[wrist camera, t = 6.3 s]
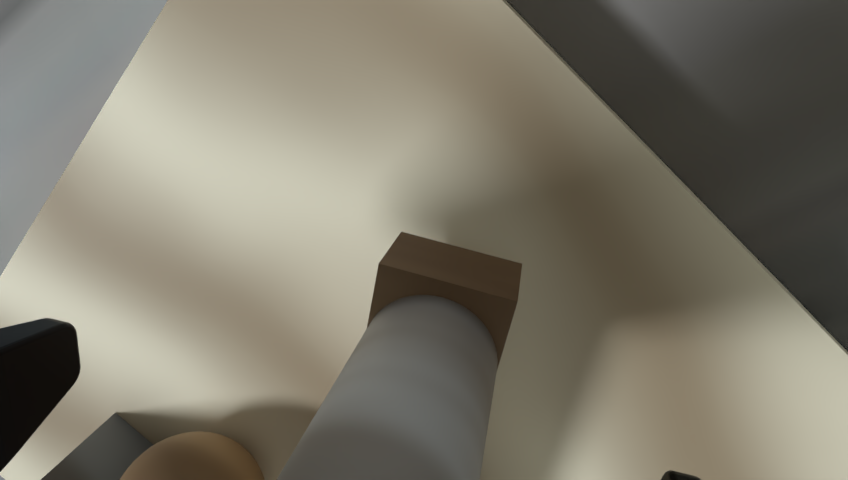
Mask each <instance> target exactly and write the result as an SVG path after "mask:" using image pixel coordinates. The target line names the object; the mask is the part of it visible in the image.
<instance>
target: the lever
mask: <svg viewBox="0 0 848 480" xmlns="http://www.w3.org/2000/svg"><path fill="white" fill-rule="evenodd" d="M521 270H522V263H518V262H514V261H510V260H507V259H503V258H499V257H495V256H491V255H488V254H484V253H480V252H476V251H473V250H469V249H465V248H461V247H458V246H454V245H450V244H446V243H443V242H439V241H435V240H431V239H428V238H424V237H420V236H416V235H413V234H409V233H405V232H401V233H400V234H399V236H398V237H397V238H396V240H395V241H394V243H393V244H392V245H391V247H390V248H389V250H388V251H387V252H386V254H385V255H384V257H383V258H382V259H381V261H380V262H379V264H378V270H377V275H376V281H375V286H374V292H373V297H372V303H371V308H370V313H369V319H368V324H367V329H366V331H365V333H364V334H363V336H362V338H361V339H360V341H359V343H358V344H357V346H356V348H355V349H354V351H353V353H352V354H351V356H350V358H349V359H348V361H347V363H346V364H345V366H344V368H343V369H342V371H341V373H340V374H339V376H338V378H337V379H336V381H335V383H334V384H333V386H332V388H331V389H330V391H329V393H328V394H327V396H326V398H325V399H324V401H323V403H322V404H321V406H320V408H319V409H318V411H317V413H316V414H315V416H314V418H313V419H312V421H311V423H310V424H309V426H308V428H307V429H306V431H305V433H304V435H303V436H302V438H301V440H300V441H299V443H298V445H297V446H296V448H295V450H294V451H293V453H292V455H291V456H290V458H289V460H288V461H287V463H286V465H285V466H284V468H283V470H282V471H281V473H280V475H279V476H278V478H277V480H480V475H481V468H482V462H483V455H484V449H485V443H486V436H487V430H488V424H489V417H490V411H491V404H492V398H493V392H494V385H495V379H496V373H497V369H498V366H499V362H500V359H501V356H502V352H503V349H504V346H505V342H506V339H507V336H508V332H509V329H510V326H511V322H512V319H513V316H514V312H515V309H516V305H517V302H518V295H519V287H520V278H521Z"/></svg>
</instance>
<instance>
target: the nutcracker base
mask: <svg viewBox="0 0 848 480" xmlns="http://www.w3.org/2000/svg"><path fill="white" fill-rule="evenodd" d="M401 232H405V233H409V234H413V235H416V236H420V237H424V238H428V239H431V240H435V241H439V242H443V243H446V244H450V245H454V246H458V247H461V248H465V249H469V250H473V251H476V252H480V253H484V254H488V255H491V256H495V257H499V258H503V259H507V260H510V261H514V262H518V263H522V270H521V278H520V287H519V295H518V302H517V305H516V309H515V312H514V316H513V319H512V322H511V326H510V329H509V332H508V336H507V339H506V342H505V346H504V349H503V352H502V356H501V359H500V362H499V366H498V369H497V373H496V379H495V385H494V392H493V398H492V404H491V411H490V417H489V424H488V430H487V436H486V443H485V449H484V455H483V462H482V468H481V475H480V480H661V478H662V476H663V475H664V473H665V472H667V471H669V470H673V471H677V472H681V473H685V474H690V475H694V476H696V477H698V478H700V479H701V480H848V351H847V350H846V349H845V348H844V347H843V346H842V345H841V344H840V343H839V342H838V341H837V340H836V339H835V338H834V337H833V336H832V335H831V334H830V333H829V332H828V331H827V330H826V329H825V328H824V327H823V326H822V325H821V324H820V323H819V322H818V321H817V320H816V319H815V318H814V317H813V316H812V314H811V313H810V312H809V311H808V310H807V309H806V308H805V307H804V306H803V305H802V304H801V303H800V302H799V301H798V300H797V299H796V298H795V297H794V296H793V295H792V294H791V293H790V292H789V291H788V290H787V289H786V288H785V287H784V286H783V285H782V284H781V283H780V282H779V281H778V280H777V279H776V278H775V276H774V275H773V274H772V273H771V272H770V271H769V270H768V269H767V268H766V267H765V266H764V265H763V264H762V263H761V262H760V261H759V260H758V259H757V258H756V257H755V256H754V255H753V254H752V253H751V252H750V251H749V250H748V249H747V248H746V247H745V246H744V245H743V244H742V243H741V242H740V241H739V240H738V238H737V237H736V236H735V235H734V234H733V233H732V232H731V231H730V230H729V229H728V228H727V227H726V226H725V225H724V224H723V223H722V222H721V221H720V220H719V219H718V218H717V217H716V216H715V215H714V214H713V213H712V212H711V211H710V210H709V209H708V208H707V207H706V206H705V205H704V204H703V203H702V201H701V200H700V199H699V198H698V197H697V196H696V195H695V194H694V193H693V192H692V191H691V190H690V189H689V188H688V187H687V186H686V185H685V184H684V183H683V182H682V181H681V180H680V179H679V178H678V177H677V176H676V175H675V174H674V173H673V172H672V171H671V170H670V169H669V168H668V167H667V166H666V165H665V163H664V162H663V161H662V160H661V159H660V158H659V157H658V156H657V155H656V154H655V153H654V152H653V151H652V150H651V149H650V148H649V147H648V146H647V145H646V144H645V143H644V142H643V141H642V140H641V139H640V138H639V137H638V136H637V135H636V134H635V133H634V132H633V131H632V130H631V129H630V128H629V126H628V125H627V124H626V123H625V122H624V121H623V120H622V119H621V118H620V117H619V116H618V115H617V114H616V113H615V112H614V111H613V110H612V109H611V108H610V107H609V106H608V105H607V104H606V103H605V102H604V101H603V100H602V99H601V98H600V97H599V96H598V95H597V94H596V93H595V92H594V91H593V90H592V88H591V87H590V86H589V85H588V84H587V83H586V82H585V81H584V80H583V79H582V78H581V77H580V76H579V75H578V74H577V73H576V72H575V71H574V70H573V69H572V68H571V67H570V66H569V65H568V64H567V63H566V62H565V61H564V60H563V59H562V58H561V57H560V56H559V55H558V54H557V53H556V52H555V50H554V49H553V48H552V47H551V46H550V45H549V44H548V43H547V42H546V41H545V40H544V39H543V38H542V37H541V36H540V35H539V34H538V33H537V32H536V31H535V30H534V29H533V28H532V27H531V26H530V25H529V24H528V23H527V22H526V21H525V20H524V19H523V18H522V17H521V16H520V15H519V13H518V12H517V11H516V10H515V9H514V8H513V7H512V6H511V5H510V4H509V3H508V2H507V1H506V0H168V1H167V3H166V4H165V6H164V8H163V9H162V11H161V13H160V14H159V16H158V17H157V19H156V21H155V22H154V24H153V26H152V27H151V29H150V31H149V32H148V34H147V36H146V37H145V39H144V41H143V42H142V44H141V46H140V47H139V49H138V50H137V52H136V54H135V55H134V57H133V59H132V60H131V62H130V64H129V65H128V67H127V69H126V70H125V72H124V74H123V75H122V77H121V78H120V80H119V82H118V83H117V85H116V87H115V88H114V90H113V92H112V93H111V95H110V97H109V98H108V100H107V102H106V103H105V105H104V106H103V108H102V110H101V111H100V113H99V115H98V116H97V118H96V120H95V121H94V123H93V125H92V126H91V128H90V130H89V131H88V133H87V135H86V136H85V138H84V139H83V141H82V143H81V144H80V146H79V148H78V149H77V151H76V153H75V154H74V156H73V158H72V159H71V161H70V163H69V164H68V166H67V167H66V169H65V171H64V172H63V174H62V176H61V177H60V179H59V181H58V182H57V184H56V186H55V187H54V189H53V191H52V192H51V194H50V196H49V197H48V199H47V200H46V202H45V204H44V205H43V207H42V209H41V210H40V212H39V214H38V215H37V217H36V219H35V220H34V222H33V224H32V225H31V227H30V228H29V230H28V232H27V233H26V235H25V237H24V238H23V240H22V242H21V243H20V245H19V247H18V248H17V250H16V252H15V253H14V255H13V257H12V258H11V260H10V261H9V263H8V265H7V266H6V268H5V270H4V271H3V273H2V275H1V276H0V328H3V327H8V326H12V325H16V324H21V323H25V322H30V321H34V320H38V319H43V318H52V319H56V320H60V321H64V322H68V323H70V324H72V325H73V326H74V327H75V329H76V332H77V338H78V347H79V356H80V364H81V369H80V374H79V377H78V379H77V381H76V382H75V384H74V385H73V386H72V387H71V389H70V390H69V391H68V392H67V393H66V395H65V396H64V397H63V398H62V400H61V401H60V402H59V403H58V404H57V406H56V407H55V408H54V409H53V410H52V412H51V413H50V414H49V415H48V417H47V418H46V419H45V420H44V421H43V423H42V424H41V425H40V426H39V427H38V429H37V430H36V431H35V432H34V433H33V435H32V436H31V437H30V438H29V440H28V441H27V442H26V443H25V444H24V446H23V447H22V448H21V449H20V450H19V452H18V453H17V454H16V455H15V456H14V457H13V459H12V460H11V461H10V462H9V463H8V464H7V465H6V466H5V468H4V469H3V470H2V471H1V472H0V475H1V476H2V477H3V478H4V479H5V480H277V478H278V476H279V475H280V473H281V471H282V470H283V468H284V466H285V465H286V463H287V461H288V460H289V458H290V456H291V455H292V453H293V451H294V450H295V448H296V446H297V445H298V443H299V441H300V440H301V438H302V436H303V435H304V433H305V431H306V429H307V428H308V426H309V424H310V423H311V421H312V419H313V418H314V416H315V414H316V413H317V411H318V409H319V408H320V406H321V404H322V403H323V401H324V399H325V398H326V396H327V394H328V393H329V391H330V389H331V388H332V386H333V384H334V383H335V381H336V379H337V378H338V376H339V374H340V373H341V371H342V369H343V368H344V366H345V364H346V363H347V361H348V359H349V358H350V356H351V354H352V353H353V351H354V349H355V348H356V346H357V344H358V343H359V341H360V339H361V338H362V336H363V334H364V333H365V331H366V329H367V324H368V319H369V313H370V308H371V303H372V297H373V292H374V286H375V281H376V275H377V270H378V264H379V262H380V261H381V259H382V258H383V257H384V255H385V254H386V252H387V251H388V250H389V248H390V247H391V245H392V244H393V243H394V241H395V240H396V238H397V237H398V236H399V234H400V233H401Z"/></svg>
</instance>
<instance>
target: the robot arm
mask: <svg viewBox="0 0 848 480" xmlns="http://www.w3.org/2000/svg"><path fill="white" fill-rule="evenodd" d="M80 369H81V364H80V356H79V347H78V338H77V332H76V329H75V327H74V326H73V325H72V324H70V323H68V322H64V321H60V320H56V319H52V318H43V319H38V320H34V321H30V322H25V323H21V324H16V325H12V326H8V327H3V328H0V472H1V471H2V470H3V469H4V468H5V466H6V465H7V464H8V463H9V462H10V461H11V460H12V459H13V457H14V456H15V455H16V454H17V453H18V452H19V450H20V449H21V448H22V447H23V446H24V444H25V443H26V442H27V441H28V440H29V438H30V437H31V436H32V435H33V433H34V432H35V431H36V430H37V429H38V427H39V426H40V425H41V424H42V423H43V421H44V420H45V419H46V418H47V417H48V415H49V414H50V413H51V412H52V410H53V409H54V408H55V407H56V406H57V404H58V403H59V402H60V401H61V400H62V398H63V397H64V396H65V395H66V393H67V392H68V391H69V390H70V389H71V387H72V386H73V385H74V384H75V382H76V381H77V379H78V377H79V374H80ZM661 480H701V479H700V478H698V477H696V476H694V475H690V474H685V473H681V472H677V471H673V470H669V471H667V472H665V473H664V475H663V476H662V478H661Z"/></svg>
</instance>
